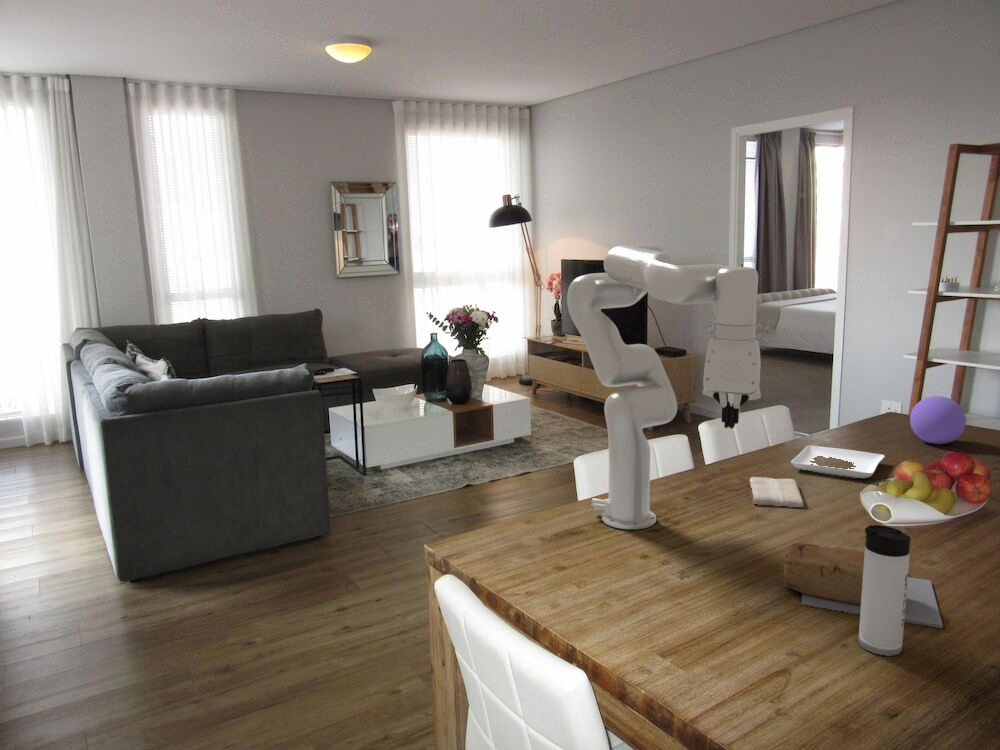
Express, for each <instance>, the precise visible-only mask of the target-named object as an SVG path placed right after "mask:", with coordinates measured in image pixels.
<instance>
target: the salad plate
mask: <svg viewBox="0 0 1000 750" xmlns="http://www.w3.org/2000/svg"><path fill="white" fill-rule="evenodd" d="M817 456H823V457H825V458H829V457H832V458H836V459H841V460H844V461H848V462H852V464H853V463H854V464H853V465H854V466H856V467H851V468H854V469H849V468H848V469H842V468H835V467H828V466H819V465H817V464H816V463H812V462H810V461H815V460H814V459H813V458H815V457H817ZM884 459H885V454H881V453H873V452H868V451H861V450H860V451H859V450H852V449H847V448H837V447H836V448H835V447H827V446H820V445H819V446H818V445H810V444H809V445H807V446H805V447H804V449H802V450H801V452H800V453H798V455H796V456H795V457H794V458H793V459H792V460H791V461H790V463H791V464H792V466H794V467H795V468H797V469H799V470H801V469H802V471H805V470H808V471H815V472H822V473H829V474H836V475H843V476H850V477H856V478H861V479H867V478H871V477H872V476H873V475H874V474H875V471H876V470H877V467H878V465H879V464H880V463H881V462H882V461H883V460H884ZM811 464H813V465H811ZM808 471H807V472H808ZM856 478H855V479H856Z"/></svg>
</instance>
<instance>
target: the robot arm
mask: <svg viewBox="0 0 1000 750" xmlns="http://www.w3.org/2000/svg"><path fill="white" fill-rule="evenodd" d="M603 269H604V271H605V272H597V273H596V272H595V273H587V274H584V275H581V276H578V277H576V278H575V279H573V280H572V282H571V283H570V285H569V286H568V289H567V294H566V303H567V310H568V313H569V316H570V318H571V320H572V322H573V324H574V327H576V329H577V331H578V333H579V334H580V336H581V337H582V340H583V342H584V345H585V347H586V348H585V349H586V351H587V353H588V357H589V358H590V361H591V364H592V365H593V368H594V372H595V374H596V376H597V378H598V380H599V382H600V383H601V385H603V386H605V387H608V388H616V387H618V388H619V387H626V386H632V385H633V386H634V385H637V386H635V387H628V388H623V389H619V390H616V391H614V392H612V393H611V394H609V395H608V397H606V400H605V401H604V402H605V403H604V406H603V410H604V418H605V423H606V428H607V437H608V441H607V442H608V498H605V499H602V498H598V497H597V498H595V497H592V499H591V506H592V507H593V509H594V510H601V511H603V512H602V514H601V521H603V522H604V524H606V525H608V526H610V527H612V528H615V529H620V530H621V529H622V530H641V529H647V528H650V527H652V526H653V525H654V524H655V523H657V515H656V514H655V513H654V512H653V511H652V510H650V501H651V499H650V498H651V497H650V495H651V494H650V491H651V486H650V485H651V447H650V443H649V441H648V439H647V437H646V436H645V434H644V431H643V429H645V428H649V427H655V426H660V425H665V424H667V423H670V422H671V421H673V419H675V417H676V415H677V413H678V412H677V411H678V402H677V401H678V400H677V397H676V394H675V392H674V389H673V387H672V384H671V382H670V379H669V376H668V375H667V372H666V370H665V368H664V364H663V363H662V360H661V358H660V356H659V354H658V353H657V352H656V351H655V349H654V348H652V347H651V346H649V345H647V344H642V343H634V344H626V343H625V342H624V341H623V339H622V336H621V335H620V331H619V329H618V327H617V326H616V324H615V322H613V321H612V320H611V318H609V316H607V315H606V314H605V313H604V312H602V309H605V310H606V309H617V308H626V307H631V306H633V305H635V304H636V303H637V302H639V301H640V300H641V299H642V298H643V297H644V296H645V295H646V294H647V293H648V294H649V296H650V297H651V298H653V299H656V300H659V301H663V302H667V303H669V304H674V305H682V306H686V305H695V304H696V305H697V304H712V303H714V316H713V318H714V319H713V323H712V324H711V325H706V327H705V332H706V333H707V334H711V335H712V338H709V340H708V343H707V347H706V353H705V359H704V369H703V378H702V379H703V381H702V382H703V383H702V385H703V387H702V388H703V389H702V394H703V395H704V396H707V397H710V398H713V399H714V400H715V401H716V402H717V403H718V404H719V405H720V407H721V423H723V424H724V429H728V428H730V429H734V427H735V425H736V424H739V419H740V407H741V406H742V405H743V404H745V403H747V402H748V401H754V400H759V399H761V397H762V394H761V389H760V388H761V387H760V386H761V367H762V366H761V350H760V342H759V340H757V339H756V330H757V329H756V327H757V326H756V325H757V324H756V323H757V310H758V309H757V308H758V307H757V306H758V289H759V272H758V271H757V269H755V268H753V267H748V266H730V265H726V264H722V263H721V264H720V263H719V264H718V263H712V264H711V263H710V264H709V263H708V264H705V263H704V264H688V265H678V264H674V261H673V259H672V257H671V256H670V255H669V254H668V253H666V252H665V251H664V250H663V249H662V248H661V247H660V246H658V245H655V244H652V243H639V244H638V243H636V244H634V243H633V244H629V243H627V244H621V245H617V246H614V247H612V248H611V249H610V250H609V251H608V252H607V253H606V255H605V256H604V259H603ZM729 394H733V395H734V399H733V403H732V404H731V402H730V399H729Z"/></svg>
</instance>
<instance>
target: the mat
mask: <svg viewBox="0 0 1000 750" xmlns="http://www.w3.org/2000/svg"><path fill="white" fill-rule="evenodd" d="M801 604H802V605H801V606H805V605H809V606H808V607H811V606H815V607H814V608H817V607H821V608H820V609H823V608H827V609H826V610H829V609H831V610H830V611H835V610H837V611H836V612H841V611H844V612H843V613H847V612H848V614H854V615H859V616H860V611H861V605H859V604H853V603H847V602H842V601H837V600H832V599H828V598H823V597H818V596H813V595H809V594H805V593H801ZM941 617H942V616H941V615H940V611H939V605H938V603H937V599H936V596H935V592H934V588H933V584H932V580H930V579H922V578H916V577H909V576H908V581H907V594H906V606H905V618H904V623H908V624H915V625H918V626H919V625H921V626H925V627H927V626H928V627H933V628H940V629H943V628H944V625H943V622H942V618H941Z"/></svg>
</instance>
